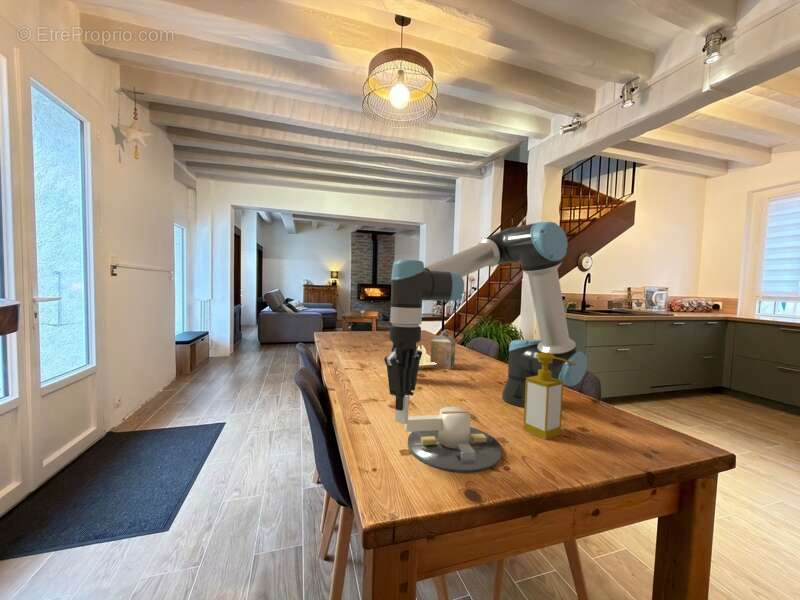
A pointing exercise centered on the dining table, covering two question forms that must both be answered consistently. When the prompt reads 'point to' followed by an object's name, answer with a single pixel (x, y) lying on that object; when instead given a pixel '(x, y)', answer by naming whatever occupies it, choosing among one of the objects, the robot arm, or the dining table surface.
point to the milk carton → (443, 351)
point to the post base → (456, 452)
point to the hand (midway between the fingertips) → (401, 421)
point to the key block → (445, 427)
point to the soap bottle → (543, 401)
